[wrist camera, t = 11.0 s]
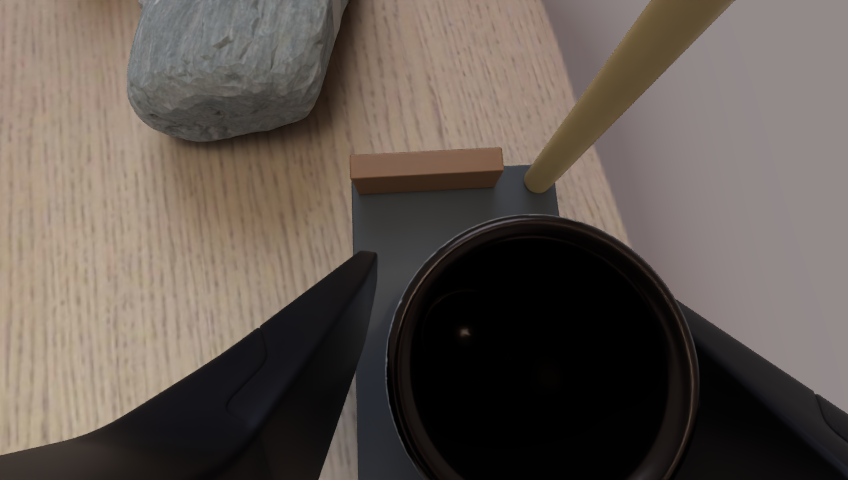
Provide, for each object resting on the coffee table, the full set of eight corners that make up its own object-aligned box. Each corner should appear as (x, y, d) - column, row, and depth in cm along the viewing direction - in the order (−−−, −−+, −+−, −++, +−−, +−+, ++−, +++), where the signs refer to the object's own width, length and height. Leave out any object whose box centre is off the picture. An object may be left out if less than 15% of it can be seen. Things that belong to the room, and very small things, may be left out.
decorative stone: (334, 169, 20) (296, 108, 14) (146, 145, 20) (33, 74, 14) (373, -36, 23) (356, -161, 17) (207, -55, 23) (131, -185, 17)
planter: (451, 257, 16) (500, 156, 6) (541, 321, 16) (761, 330, 5) (386, 347, 15) (317, 404, 5) (478, 417, 15) (600, 633, 5)
